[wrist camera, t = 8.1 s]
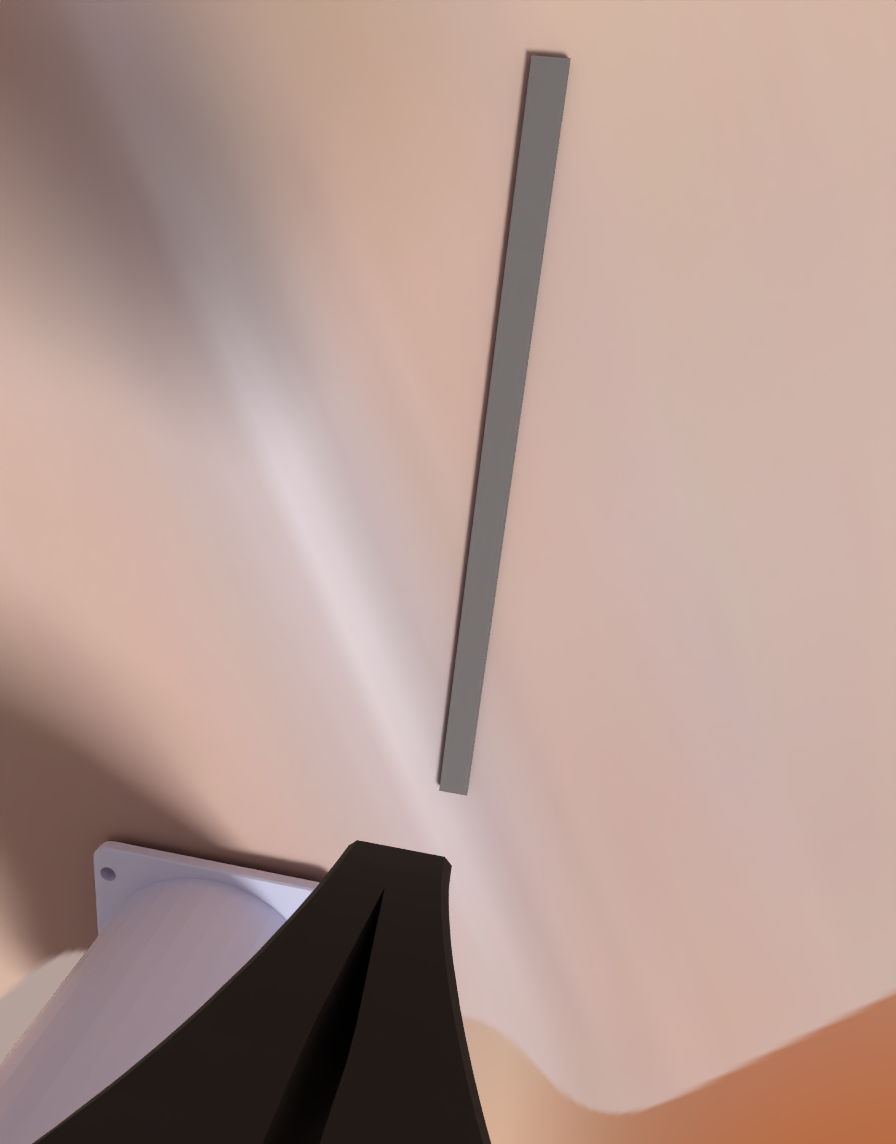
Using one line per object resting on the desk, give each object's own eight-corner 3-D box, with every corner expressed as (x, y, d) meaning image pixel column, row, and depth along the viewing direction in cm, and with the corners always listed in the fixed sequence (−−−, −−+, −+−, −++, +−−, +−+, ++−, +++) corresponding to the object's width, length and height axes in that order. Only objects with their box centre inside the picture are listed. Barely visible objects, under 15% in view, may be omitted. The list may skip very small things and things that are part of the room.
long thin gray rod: (467, 792, 21) (466, 795, 21) (440, 787, 21) (439, 790, 21) (570, 60, 15) (570, 58, 15) (531, 57, 15) (531, 54, 15)
